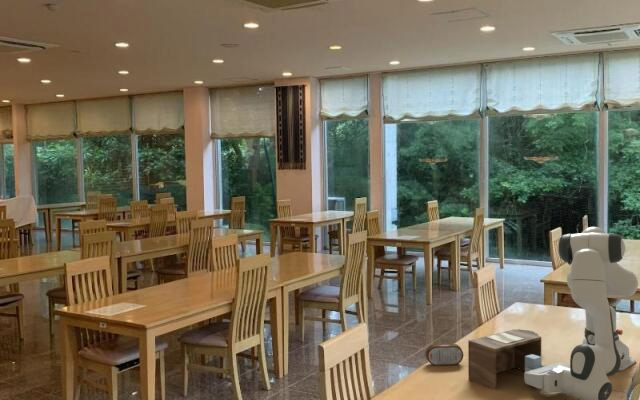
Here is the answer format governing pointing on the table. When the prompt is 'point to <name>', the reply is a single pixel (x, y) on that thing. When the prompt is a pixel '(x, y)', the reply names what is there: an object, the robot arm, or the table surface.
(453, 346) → the oval desk clock
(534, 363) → the blue block
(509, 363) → the small brown desk
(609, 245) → the robot arm
